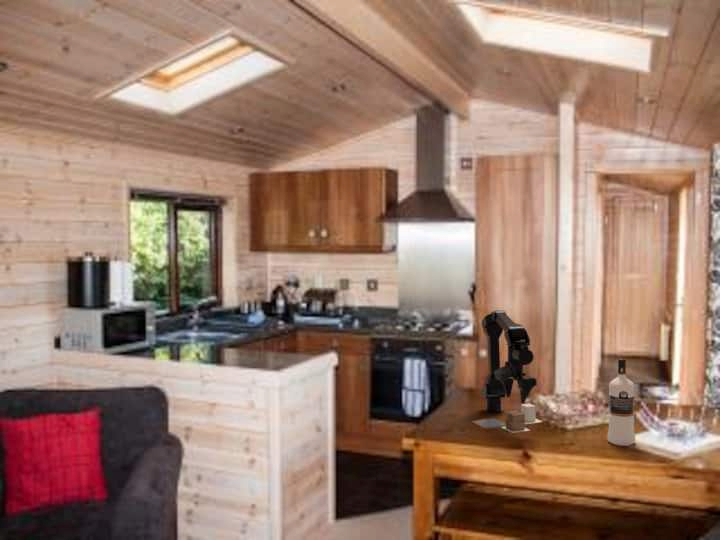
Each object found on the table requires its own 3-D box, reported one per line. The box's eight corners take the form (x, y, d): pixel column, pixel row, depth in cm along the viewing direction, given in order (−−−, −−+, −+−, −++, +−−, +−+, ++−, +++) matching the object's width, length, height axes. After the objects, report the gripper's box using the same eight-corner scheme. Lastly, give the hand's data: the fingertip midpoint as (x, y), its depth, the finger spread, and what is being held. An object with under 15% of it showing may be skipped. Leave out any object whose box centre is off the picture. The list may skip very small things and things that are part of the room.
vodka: (635, 439, 238) (636, 356, 236) (635, 447, 229) (636, 362, 227) (607, 437, 241) (608, 355, 239) (607, 445, 233) (607, 360, 231)
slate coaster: (471, 422, 262) (471, 421, 262) (493, 419, 266) (493, 418, 266) (485, 429, 253) (485, 428, 253) (507, 425, 256) (507, 424, 256)
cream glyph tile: (500, 427, 254) (500, 427, 254) (517, 425, 257) (517, 424, 257) (512, 433, 247) (512, 433, 247) (530, 431, 250) (530, 430, 250)
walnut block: (505, 427, 253) (505, 412, 253) (516, 426, 255) (516, 410, 255) (513, 431, 249) (513, 415, 248) (524, 429, 250) (524, 414, 250)
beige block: (520, 419, 263) (520, 404, 263) (529, 418, 265) (529, 403, 265) (527, 422, 260) (527, 407, 259) (535, 420, 261) (535, 405, 261)
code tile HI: (513, 419, 265) (513, 418, 265) (530, 417, 268) (530, 416, 268) (525, 425, 257) (525, 424, 257) (542, 422, 260) (542, 421, 260)
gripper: (483, 356, 256) (483, 396, 257) (512, 366, 238) (512, 408, 239) (507, 354, 260) (507, 393, 261) (537, 363, 243) (537, 405, 244)
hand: (515, 399), depth 251 cm, fingers open, 9 cm apart
